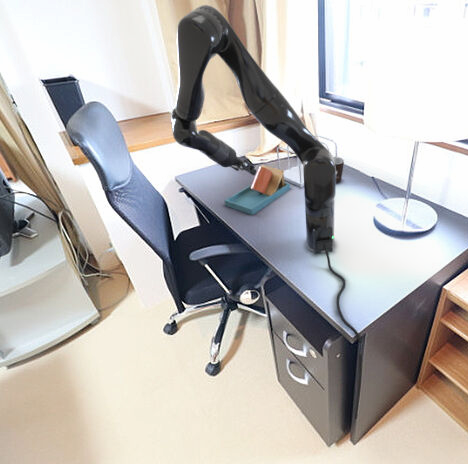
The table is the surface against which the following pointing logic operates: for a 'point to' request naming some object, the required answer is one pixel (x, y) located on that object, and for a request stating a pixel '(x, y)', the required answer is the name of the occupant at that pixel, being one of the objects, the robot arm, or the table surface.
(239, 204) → the tray
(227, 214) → the table surface
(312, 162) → the robot arm
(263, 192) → the orange cylinder
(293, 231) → the table surface
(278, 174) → the wooden stand
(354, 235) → the table surface
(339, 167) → the coffee mug
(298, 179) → the file sorter
